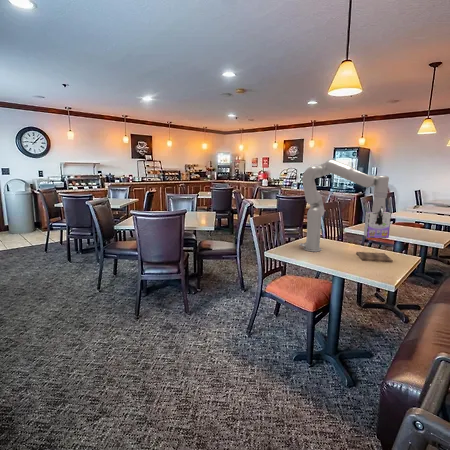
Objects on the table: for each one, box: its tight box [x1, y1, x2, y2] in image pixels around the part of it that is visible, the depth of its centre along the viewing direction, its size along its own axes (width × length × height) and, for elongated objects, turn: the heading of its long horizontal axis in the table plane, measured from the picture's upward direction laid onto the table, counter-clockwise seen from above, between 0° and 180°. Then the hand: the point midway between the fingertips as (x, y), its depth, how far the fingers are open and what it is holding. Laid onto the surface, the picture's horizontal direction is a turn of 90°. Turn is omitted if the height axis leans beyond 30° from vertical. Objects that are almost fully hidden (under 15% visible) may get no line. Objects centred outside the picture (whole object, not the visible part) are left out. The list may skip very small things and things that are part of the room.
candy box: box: [363, 211, 392, 239], centre depth 194 cm, size 14×6×16 cm, turn 84°
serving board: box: [355, 251, 393, 263], centre depth 198 cm, size 18×16×2 cm
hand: (377, 222), depth 194 cm, fingers closed on candy box, 6 cm apart
